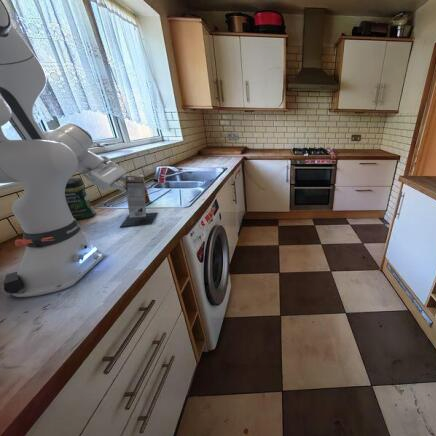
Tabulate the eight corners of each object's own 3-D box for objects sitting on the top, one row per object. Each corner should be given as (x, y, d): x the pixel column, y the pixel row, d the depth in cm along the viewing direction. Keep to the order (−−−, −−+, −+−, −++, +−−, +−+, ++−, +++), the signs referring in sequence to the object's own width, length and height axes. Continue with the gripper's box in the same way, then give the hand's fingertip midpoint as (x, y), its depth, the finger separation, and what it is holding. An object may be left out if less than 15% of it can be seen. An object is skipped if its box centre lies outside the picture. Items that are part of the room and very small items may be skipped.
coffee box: (128, 210, 104) (125, 175, 98) (145, 209, 107) (142, 175, 102) (128, 217, 97) (125, 181, 91) (146, 216, 101) (144, 181, 95)
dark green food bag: (66, 221, 103) (47, 182, 95) (74, 214, 110) (57, 177, 102) (92, 218, 106) (75, 179, 98) (98, 211, 113) (83, 175, 105)
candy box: (131, 207, 119) (122, 178, 112) (131, 204, 122) (122, 176, 115) (150, 203, 123) (142, 176, 116) (150, 201, 126) (142, 174, 120)
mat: (151, 223, 101) (151, 222, 101) (120, 227, 98) (119, 226, 98) (157, 213, 111) (157, 212, 111) (129, 216, 108) (129, 215, 108)
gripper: (84, 166, 82) (124, 189, 88) (107, 155, 99) (139, 175, 106) (74, 179, 82) (114, 201, 89) (99, 166, 100) (131, 185, 107)
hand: (128, 187), depth 98 cm, fingers closed on coffee box, 6 cm apart
